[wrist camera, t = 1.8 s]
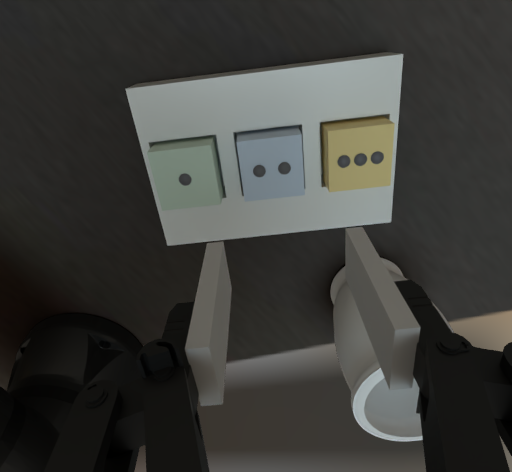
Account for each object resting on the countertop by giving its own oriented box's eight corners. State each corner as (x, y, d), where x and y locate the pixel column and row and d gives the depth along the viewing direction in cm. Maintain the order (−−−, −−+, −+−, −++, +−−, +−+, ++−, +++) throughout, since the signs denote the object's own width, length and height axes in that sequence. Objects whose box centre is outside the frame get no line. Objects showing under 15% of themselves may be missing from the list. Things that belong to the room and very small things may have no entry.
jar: (318, 253, 39) (351, 362, 26) (415, 241, 39) (499, 346, 26) (323, 326, 44) (353, 449, 31) (408, 317, 44) (476, 437, 31)
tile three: (322, 179, 33) (329, 192, 30) (321, 122, 30) (328, 131, 28) (379, 173, 32) (390, 186, 30) (382, 115, 30) (395, 123, 27)
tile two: (245, 188, 33) (244, 202, 30) (237, 132, 31) (236, 142, 28) (300, 182, 33) (305, 195, 30) (297, 125, 30) (301, 134, 28)
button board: (174, 228, 38) (167, 245, 35) (137, 83, 31) (125, 88, 28) (379, 206, 37) (391, 222, 34) (387, 52, 30) (403, 53, 27)
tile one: (169, 196, 33) (161, 211, 31) (155, 142, 31) (146, 152, 28) (223, 190, 33) (220, 204, 30) (214, 135, 31) (210, 145, 28)
